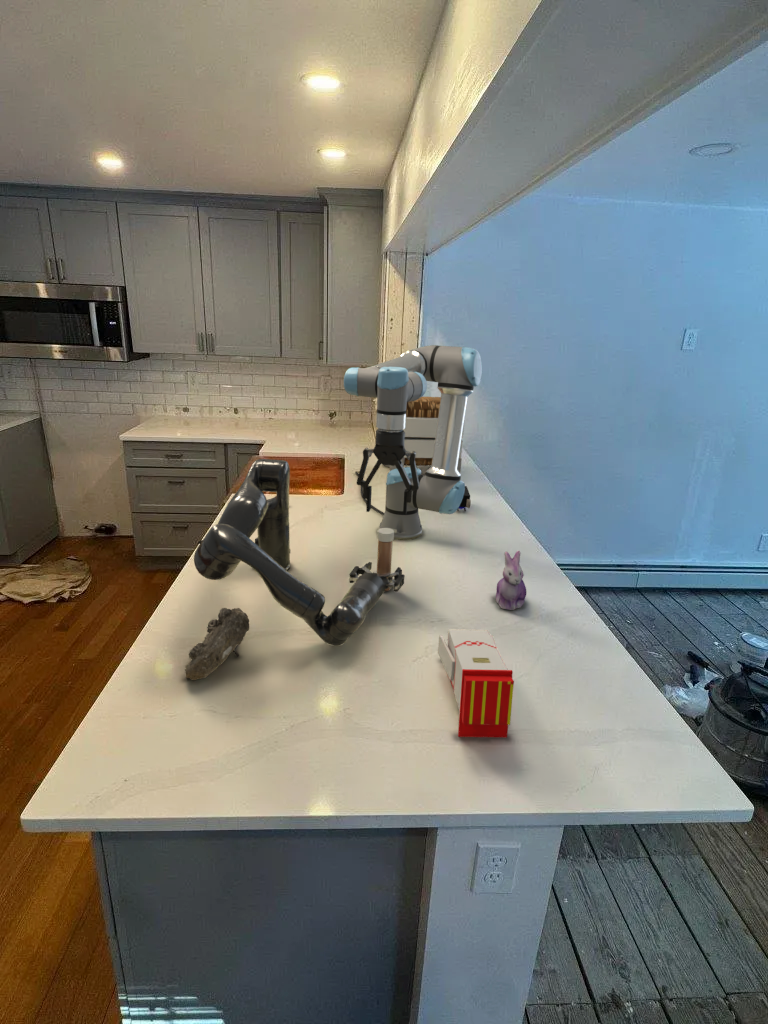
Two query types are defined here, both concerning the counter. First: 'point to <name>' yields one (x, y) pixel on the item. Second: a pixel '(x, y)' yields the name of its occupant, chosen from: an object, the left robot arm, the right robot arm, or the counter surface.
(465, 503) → the figurine character
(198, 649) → the fossil
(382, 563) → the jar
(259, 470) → the left robot arm
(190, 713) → the counter surface
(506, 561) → the figurine
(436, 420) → the white slatted crate
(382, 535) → the lid
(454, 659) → the toy
